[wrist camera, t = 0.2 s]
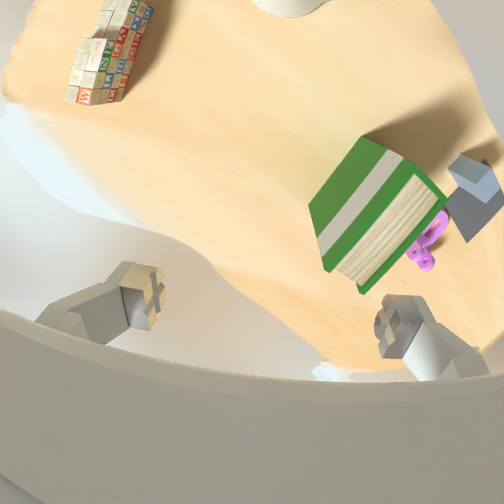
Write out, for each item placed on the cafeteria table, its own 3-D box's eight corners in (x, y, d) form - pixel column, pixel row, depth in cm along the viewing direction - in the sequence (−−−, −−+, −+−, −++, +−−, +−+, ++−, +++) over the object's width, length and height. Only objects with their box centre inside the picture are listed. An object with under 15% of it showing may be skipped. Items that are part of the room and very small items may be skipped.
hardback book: (336, 224, 60) (363, 295, 39) (308, 204, 58) (324, 269, 37) (388, 159, 52) (448, 199, 31) (361, 135, 50) (413, 162, 29)
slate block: (445, 167, 51) (475, 184, 40) (459, 153, 49) (491, 167, 38) (456, 184, 52) (485, 203, 42) (469, 170, 50) (500, 187, 39)
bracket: (414, 258, 62) (426, 274, 56) (400, 246, 61) (411, 262, 55) (449, 217, 56) (464, 230, 50) (436, 203, 55) (451, 215, 49)
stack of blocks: (129, 6, 39) (98, -9, 29) (154, 8, 40) (127, -8, 29) (98, 97, 50) (63, 101, 39) (121, 102, 50) (88, 106, 39)
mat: (442, 203, 55) (443, 203, 54) (485, 159, 48) (485, 159, 48) (466, 242, 58) (467, 243, 58) (505, 201, 52) (506, 202, 51)
